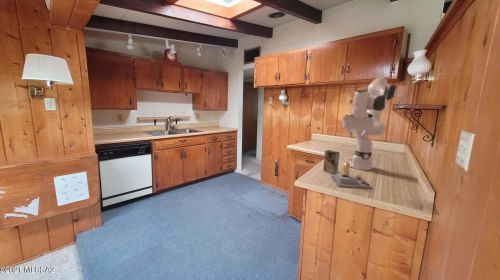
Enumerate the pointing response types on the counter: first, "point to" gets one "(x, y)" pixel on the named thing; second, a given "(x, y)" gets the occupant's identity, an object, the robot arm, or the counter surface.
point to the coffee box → (331, 161)
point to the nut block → (350, 181)
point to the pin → (346, 170)
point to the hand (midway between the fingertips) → (356, 135)
